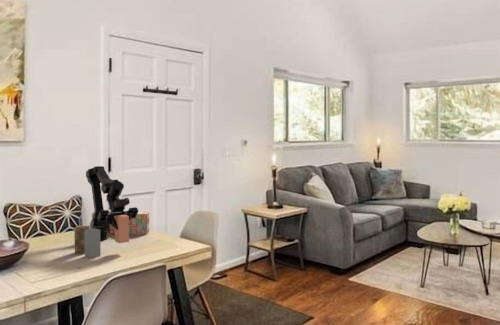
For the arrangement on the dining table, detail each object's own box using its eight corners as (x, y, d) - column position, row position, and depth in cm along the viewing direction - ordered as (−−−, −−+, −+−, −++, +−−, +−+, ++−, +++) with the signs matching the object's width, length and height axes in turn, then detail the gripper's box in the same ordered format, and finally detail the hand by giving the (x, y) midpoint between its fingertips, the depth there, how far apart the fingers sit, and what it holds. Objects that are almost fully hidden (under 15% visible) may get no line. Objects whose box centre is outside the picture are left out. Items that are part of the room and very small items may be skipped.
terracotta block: (115, 241, 210) (114, 215, 209) (125, 239, 213) (124, 214, 212) (118, 243, 206) (118, 217, 205) (128, 241, 209) (128, 216, 208)
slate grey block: (84, 256, 203) (84, 229, 203) (94, 254, 207) (94, 228, 206) (90, 258, 200) (90, 231, 199) (100, 255, 204) (100, 229, 203)
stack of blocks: (109, 234, 249) (109, 213, 248) (112, 232, 255) (112, 211, 254) (147, 234, 250) (147, 213, 249) (149, 232, 256) (149, 211, 255)
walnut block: (74, 253, 208) (74, 227, 207) (80, 250, 213) (79, 225, 212) (84, 253, 207) (84, 228, 207) (89, 251, 212) (89, 225, 212)
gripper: (99, 193, 206) (107, 220, 198) (136, 191, 217) (146, 216, 209) (94, 208, 212) (101, 234, 204) (130, 204, 224) (139, 229, 216)
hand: (122, 228), depth 208 cm, fingers closed on terracotta block, 5 cm apart
